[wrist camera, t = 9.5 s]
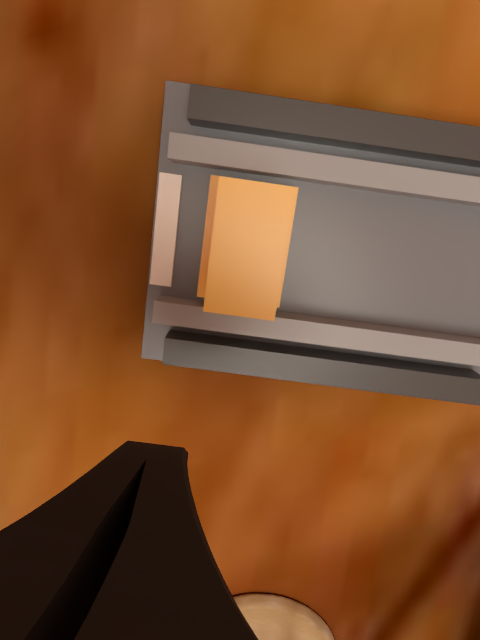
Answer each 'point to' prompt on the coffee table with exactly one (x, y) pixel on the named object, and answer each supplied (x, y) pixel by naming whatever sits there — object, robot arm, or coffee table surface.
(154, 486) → the robot arm
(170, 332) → the breaker panel
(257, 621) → the hand bell
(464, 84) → the coffee table surface
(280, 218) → the breaker lever
